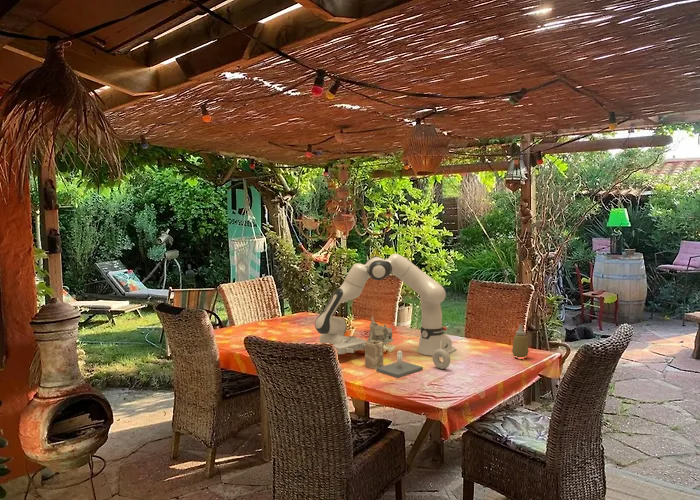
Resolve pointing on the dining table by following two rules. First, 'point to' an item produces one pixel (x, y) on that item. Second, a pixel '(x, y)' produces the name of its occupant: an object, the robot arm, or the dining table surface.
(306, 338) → the dining table surface
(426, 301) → the robot arm
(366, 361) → the sleeve
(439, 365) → the donut
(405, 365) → the post board
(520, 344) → the squeeze bottle
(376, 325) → the ceramic cottage
